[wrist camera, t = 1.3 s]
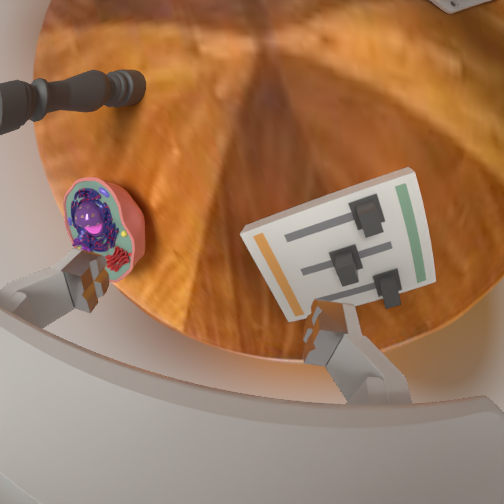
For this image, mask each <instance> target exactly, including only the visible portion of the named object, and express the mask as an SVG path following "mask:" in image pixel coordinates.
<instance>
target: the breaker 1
mask: <svg viewBox="0 0 504 504" xmlns="http://www.w3.org/2000/svg"><path fill="white" fill-rule="evenodd" d="M348 204H349V207H350V209H351V212H352V215H353V218H354V220H355V223H356V226H357V229H358V230H361V229H363V231H364V234H365V237H366V238H367V237H370V236H373V235H377V234H380V233H383V232H384V231H383V228H382V224H381V223H382V222H385V218H384V215H383V212H382V209H381V205H380V202H379V199H378V196H377V193H376V194H373V195H370V196H367V197H364V198H361V199H359V200H356V201H353V202H350V203H348Z"/></svg>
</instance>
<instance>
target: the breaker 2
mask: <svg viewBox="0 0 504 504" xmlns="http://www.w3.org/2000/svg"><path fill="white" fill-rule="evenodd" d="M373 279H374V283H375V286H376V290H377V294H378V297H380V296H383V300H384V304H385V308H386V309H387V308H391V307H394V306H398V305H401V301H400V296H399V291H400V290H402V287H401V282H400V277H399V272H398V268H396V269H393V270H390V271H387V272H384V273H380V274H377V275H374V276H373Z"/></svg>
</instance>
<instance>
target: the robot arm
mask: <svg viewBox="0 0 504 504" xmlns="http://www.w3.org/2000/svg"><path fill="white" fill-rule="evenodd" d="M429 1H431V2H432V3H433V4H435V5H436V6H437V7H439V8H440V9H441V10H443V11H444V12H446V13H448V14H453V13H456V12H458V11H461V10H464V9H467V8H470V7H473V6H476V5H479V4H482V3H485V2H489V1H492V0H429ZM451 3H452V4H453V5H454V6H453V5H452V4H451ZM106 265H107V262H106V257H104V256H103V255H100V254H97V253H93V252H90V251H86V250H82V249H78V248H73V249H72V250H71V251H69V253H67V254H66V255H65V256H64V257H63V258H62V259H61V260H60V261H59V262H58V263H57V264H56V265H54V266H53V267H52V268H50V267H49V268H46V269H44V270H41V271H38V272H35V273H33V274H30V275H28V276H25V277H22V278H20V279H18V280H15V281H12V282H10V283H7V284H6V285H5V286H4V287H3V288H2V289H1V290H0V504H504V412H503V411H502V410H501V409H500V408H499V407H498V406H497V405H496V404H495V403H494V402H493V401H492V400H491V399H490V398H488V397H487V396H474V397H468V398H462V399H455V400H448V401H440V402H429V403H416V404H412V401H411V397H410V392H409V389H408V385H407V381H406V377H405V376H404V375H403V374H402V373H401V372H400V371H399V370H398V369H397V368H396V367H395V366H394V365H393V364H392V362H391V361H390V360H388V359H387V357H386V356H385V355H384V354H383V353H382V352H381V351H380V350H379V349H378V348H377V347H376V346H375V345H374V344H373V343H372V342H371V341H370V340H369V339H368V338H367V337H366V336H362V332H361V328H360V324H359V320H358V316H357V312H356V308H355V306H354V304H348V303H338V302H331V301H325V300H319V299H314V301H313V303H312V305H311V314H310V315H308V316H307V319H306V321H305V325H304V330H303V340H304V342H305V343H306V344H305V347H304V349H303V354H304V363H305V364H312V365H319V366H326V369H327V371H328V372H329V374H330V375H331V377H332V378H333V380H334V381H335V383H336V385H337V386H338V388H339V389H340V391H341V392H342V394H343V395H344V397H345V398H346V400H347V403H346V404H326V403H325V404H324V403H312V402H301V401H291V400H283V399H274V398H267V397H261V396H254V395H248V394H242V393H236V392H231V391H226V390H221V389H216V388H211V387H207V386H203V385H198V384H194V383H190V382H186V381H182V380H178V379H174V378H170V377H167V376H163V375H160V374H157V373H153V372H150V371H147V370H143V369H141V368H137V367H134V366H131V365H128V364H126V363H122V362H120V361H117V360H114V359H111V358H109V357H106V356H103V355H101V354H98V353H96V352H93V351H91V350H88V349H86V348H83V347H81V346H78V345H76V344H74V343H72V342H69V341H67V340H65V339H63V338H60V337H58V336H56V335H54V334H52V333H50V332H48V331H46V330H44V329H42V328H44V327H46V326H47V325H49V324H50V323H52V322H54V321H55V320H57V319H59V318H60V317H62V316H64V315H65V314H67V313H68V312H70V311H72V310H73V309H74V308H76V309H79V310H83V311H86V312H88V313H91V312H92V310H93V309H94V308H95V306H96V305H97V303H98V298H99V297H101V296H103V295H104V294H105V293H106V291H107V289H108V286H109V274H108V272H107V271H106V269H105V267H106Z"/></svg>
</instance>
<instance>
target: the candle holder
mask: <svg viewBox="0 0 504 504" xmlns="http://www.w3.org/2000/svg"><path fill="white" fill-rule="evenodd" d="M145 90H146V81H145V78H144V76H143V75H142V74H141V73H140V72H139V71H136V70H118V71H114V72H109V73H108V74H106V75H105V74H104V73H103V72H101V71H97V70H91V71H87V72H84V73H82V74H79V75H76V76H73V77H71V78H68V79H66V80H63V81H55V82H47V81H46V80H45V79H42V78H38V79H36V80H34V81H33V82H32V83H31V84H28V83H26V82H23V81H19V80H15V81H9V82H5V83H1V84H0V135H2V134H5V133H8V132H11V131H14V130H16V129H19V128H20V126H21V125H24V124H25V122H26V121H27V120H29V119H30V120H32V121H33V122H36V121H39V120H42V119H43V117H44V116H45V115H46V114H47V113H49V112H53V111H58V110H68V111H78V112H92V111H96V110H98V109H99V108H100V107H102V106H103V105H105V106H108V107H123V106H130V105H134V104H136V103H138V102H139V101H140V100H141V98H142V97H143V95H144V93H145Z"/></svg>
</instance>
